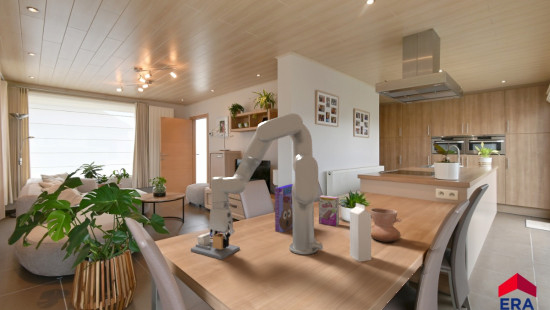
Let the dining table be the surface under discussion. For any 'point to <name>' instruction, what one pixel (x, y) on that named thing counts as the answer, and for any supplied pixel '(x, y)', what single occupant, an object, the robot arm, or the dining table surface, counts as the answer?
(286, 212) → the cereal box
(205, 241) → the cream square block
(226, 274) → the dining table surface
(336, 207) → the candy bar box
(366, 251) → the milk
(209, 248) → the base
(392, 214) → the ceramic jug
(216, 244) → the orange hollow cube
